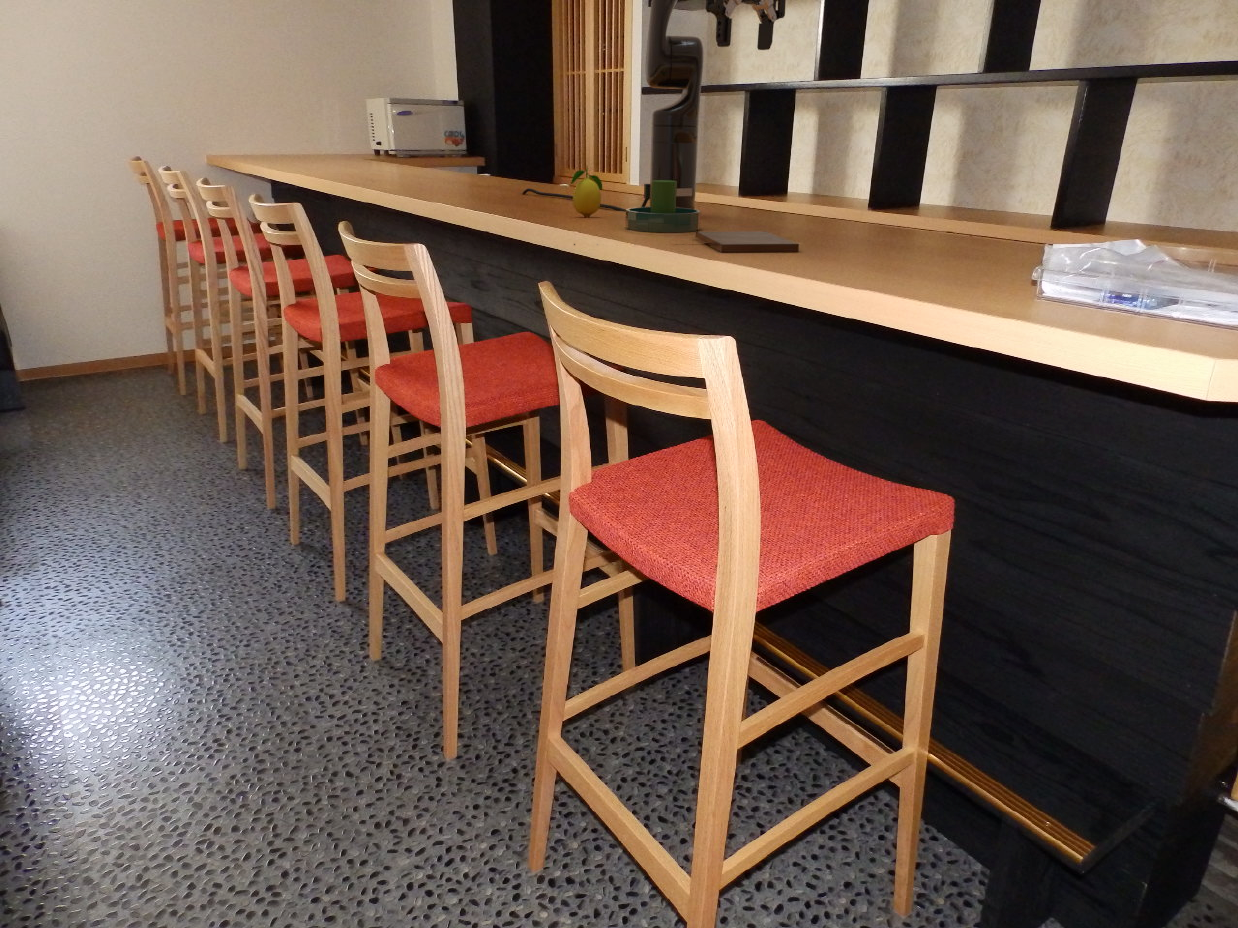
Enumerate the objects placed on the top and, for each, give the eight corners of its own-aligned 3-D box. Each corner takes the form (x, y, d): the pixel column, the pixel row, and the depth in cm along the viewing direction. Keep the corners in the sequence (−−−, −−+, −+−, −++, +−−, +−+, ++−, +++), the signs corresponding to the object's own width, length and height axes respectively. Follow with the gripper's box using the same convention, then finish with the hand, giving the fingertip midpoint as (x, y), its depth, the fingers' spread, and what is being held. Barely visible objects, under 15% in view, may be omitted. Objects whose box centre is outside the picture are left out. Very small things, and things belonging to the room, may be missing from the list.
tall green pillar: (648, 227, 151) (649, 180, 148) (671, 227, 152) (673, 180, 149) (652, 229, 147) (654, 181, 144) (677, 229, 148) (679, 182, 145)
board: (695, 239, 139) (695, 231, 139) (764, 238, 141) (765, 231, 140) (721, 252, 124) (721, 244, 124) (798, 252, 126) (799, 243, 126)
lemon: (570, 220, 164) (570, 165, 160) (568, 217, 169) (568, 164, 166) (605, 220, 165) (605, 166, 161) (601, 217, 170) (602, 164, 166)
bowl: (620, 226, 154) (620, 207, 153) (689, 226, 156) (690, 207, 155) (632, 235, 143) (633, 213, 141) (707, 234, 145) (708, 213, 143)
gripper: (767, -65, 129) (759, 52, 135) (698, -79, 121) (692, 47, 127) (804, -73, 123) (794, 50, 129) (734, -88, 115) (726, 44, 122)
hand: (743, 48), depth 128 cm, fingers open, 8 cm apart
